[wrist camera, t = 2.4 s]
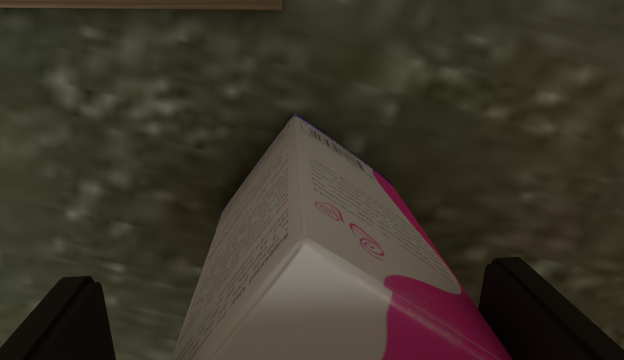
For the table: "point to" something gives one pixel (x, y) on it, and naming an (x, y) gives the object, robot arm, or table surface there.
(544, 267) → the table surface
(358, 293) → the supplement box
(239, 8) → the birch plinth
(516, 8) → the table surface
